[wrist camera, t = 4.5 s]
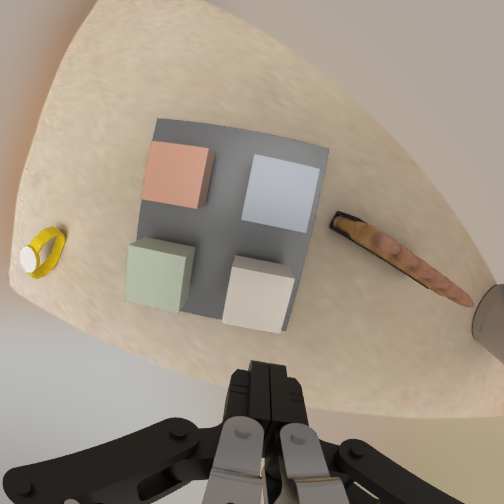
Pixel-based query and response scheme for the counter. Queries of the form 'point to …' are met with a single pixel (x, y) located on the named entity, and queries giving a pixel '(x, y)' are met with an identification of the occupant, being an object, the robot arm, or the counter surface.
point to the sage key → (159, 274)
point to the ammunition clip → (398, 257)
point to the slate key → (280, 193)
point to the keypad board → (229, 211)
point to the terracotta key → (178, 174)
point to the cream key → (258, 294)
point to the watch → (30, 252)
